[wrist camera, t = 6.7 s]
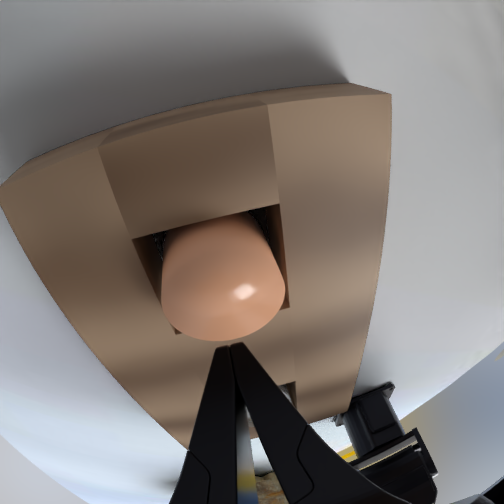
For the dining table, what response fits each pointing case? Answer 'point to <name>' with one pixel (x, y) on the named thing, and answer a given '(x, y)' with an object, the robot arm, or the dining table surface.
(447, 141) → the dining table surface
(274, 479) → the rough brown rock
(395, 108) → the dining table surface
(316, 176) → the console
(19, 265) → the dining table surface
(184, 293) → the peach rounded cylinder
